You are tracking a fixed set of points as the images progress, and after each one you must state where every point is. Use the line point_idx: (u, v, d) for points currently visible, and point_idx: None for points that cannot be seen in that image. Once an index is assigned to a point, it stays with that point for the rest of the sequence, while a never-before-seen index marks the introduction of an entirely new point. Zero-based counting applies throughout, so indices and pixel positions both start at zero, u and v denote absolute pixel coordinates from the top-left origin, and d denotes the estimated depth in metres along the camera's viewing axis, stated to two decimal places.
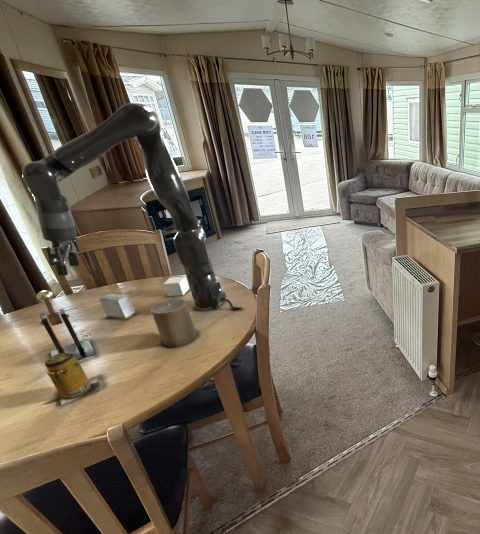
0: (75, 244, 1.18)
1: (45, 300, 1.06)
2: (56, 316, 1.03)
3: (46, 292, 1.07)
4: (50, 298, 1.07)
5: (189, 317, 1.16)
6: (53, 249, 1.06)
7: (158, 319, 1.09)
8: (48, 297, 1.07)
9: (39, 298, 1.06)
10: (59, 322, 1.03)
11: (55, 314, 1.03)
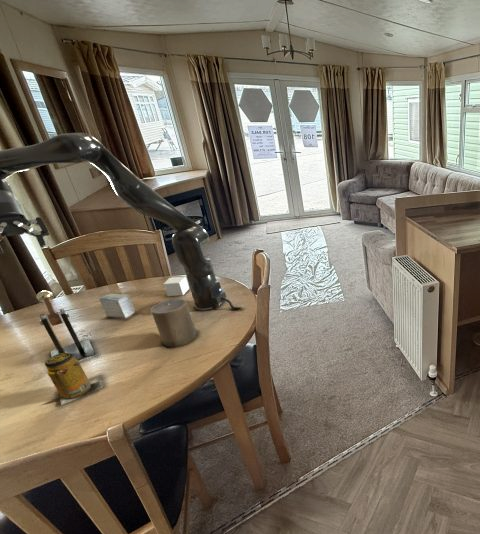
0: (39, 225, 1.13)
1: (45, 300, 1.06)
2: (56, 316, 1.03)
3: (46, 292, 1.07)
4: (50, 298, 1.07)
5: (189, 317, 1.16)
6: None
7: (158, 319, 1.09)
8: (48, 297, 1.07)
9: (39, 298, 1.06)
10: (59, 322, 1.03)
11: (55, 314, 1.03)
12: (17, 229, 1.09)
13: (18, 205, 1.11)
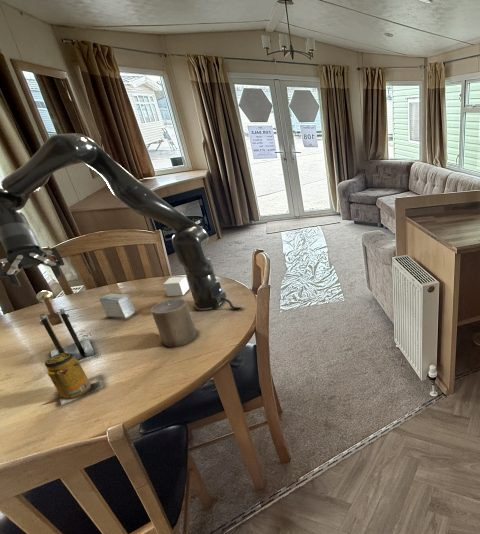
0: None
1: (45, 300, 1.06)
2: (56, 316, 1.03)
3: (46, 292, 1.07)
4: (50, 298, 1.07)
5: (189, 317, 1.16)
6: None
7: (158, 319, 1.09)
8: (48, 297, 1.07)
9: (39, 298, 1.06)
10: (59, 322, 1.03)
11: (55, 314, 1.03)
12: (33, 261, 1.10)
13: (34, 236, 1.12)
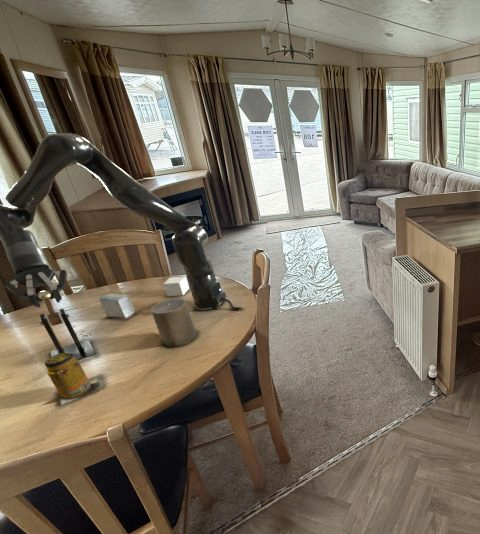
0: None
1: (45, 300, 1.06)
2: (56, 316, 1.03)
3: (46, 292, 1.07)
4: (50, 298, 1.07)
5: (189, 317, 1.16)
6: (5, 285, 1.03)
7: (158, 319, 1.09)
8: (48, 297, 1.07)
9: (39, 298, 1.06)
10: (59, 322, 1.03)
11: (55, 314, 1.03)
12: (38, 280, 1.07)
13: (42, 255, 1.10)
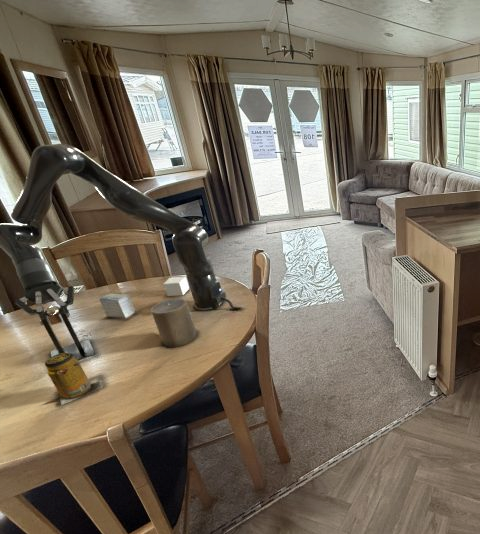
0: None
1: (51, 312, 1.08)
2: (55, 314, 1.03)
3: (54, 306, 1.10)
4: (57, 311, 1.10)
5: (189, 317, 1.16)
6: (15, 302, 1.06)
7: (158, 319, 1.09)
8: (55, 310, 1.09)
9: (47, 311, 1.08)
10: (58, 320, 1.03)
11: (55, 314, 1.04)
12: (46, 297, 1.10)
13: (51, 272, 1.13)
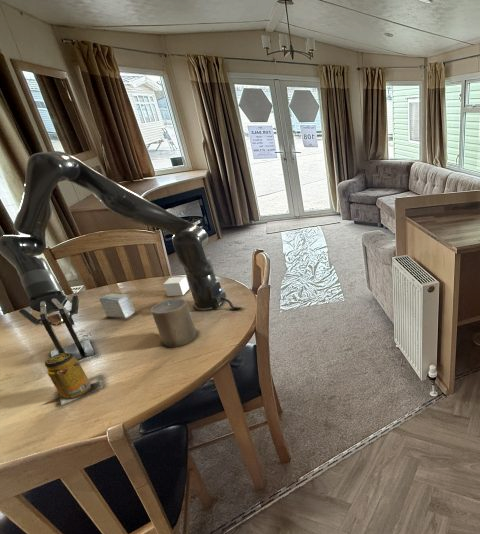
0: None
1: None
2: None
3: (58, 315, 1.11)
4: (61, 319, 1.10)
5: (189, 317, 1.16)
6: (20, 312, 1.07)
7: (158, 319, 1.09)
8: None
9: None
10: (57, 319, 1.03)
11: None
12: (51, 306, 1.11)
13: (55, 282, 1.14)
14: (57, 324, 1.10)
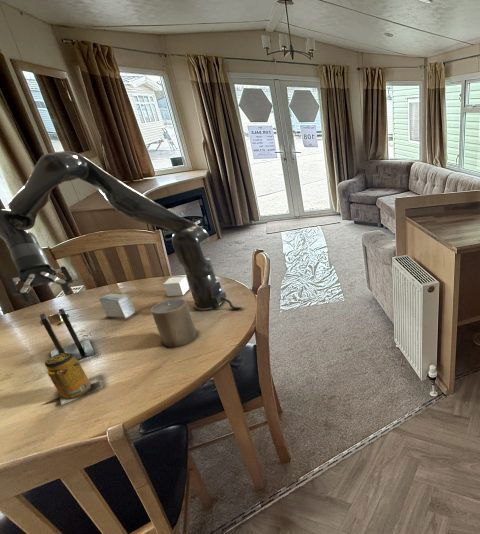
0: (64, 274, 1.21)
1: None
2: None
3: None
4: (61, 319, 1.10)
5: (189, 317, 1.16)
6: None
7: (158, 319, 1.09)
8: None
9: None
10: (57, 319, 1.03)
11: None
12: (44, 279, 1.17)
13: (44, 256, 1.19)
14: (57, 324, 1.10)
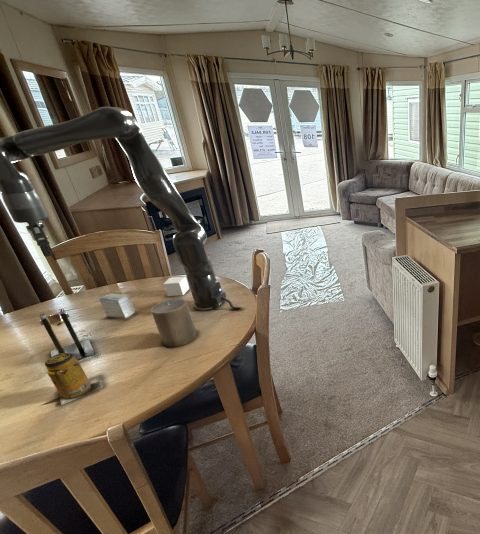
0: None
1: None
2: None
3: None
4: (61, 319, 1.10)
5: (189, 317, 1.16)
6: (37, 228, 1.07)
7: (158, 319, 1.09)
8: None
9: None
10: (57, 319, 1.03)
11: None
12: None
13: None
14: (57, 324, 1.10)
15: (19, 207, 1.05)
